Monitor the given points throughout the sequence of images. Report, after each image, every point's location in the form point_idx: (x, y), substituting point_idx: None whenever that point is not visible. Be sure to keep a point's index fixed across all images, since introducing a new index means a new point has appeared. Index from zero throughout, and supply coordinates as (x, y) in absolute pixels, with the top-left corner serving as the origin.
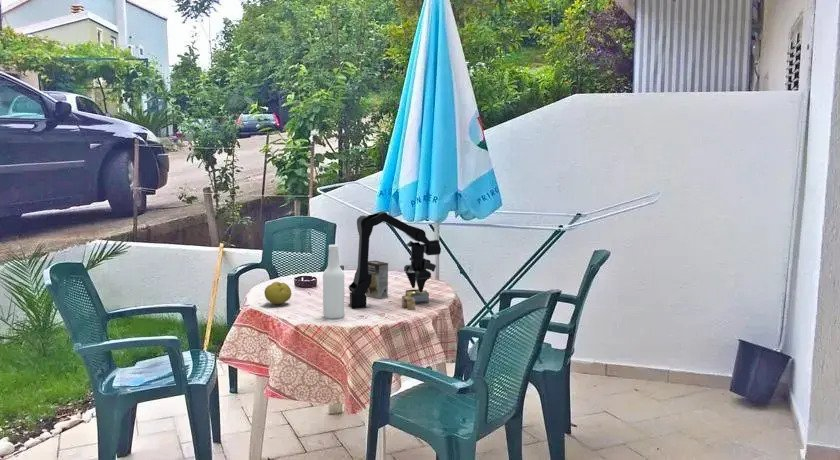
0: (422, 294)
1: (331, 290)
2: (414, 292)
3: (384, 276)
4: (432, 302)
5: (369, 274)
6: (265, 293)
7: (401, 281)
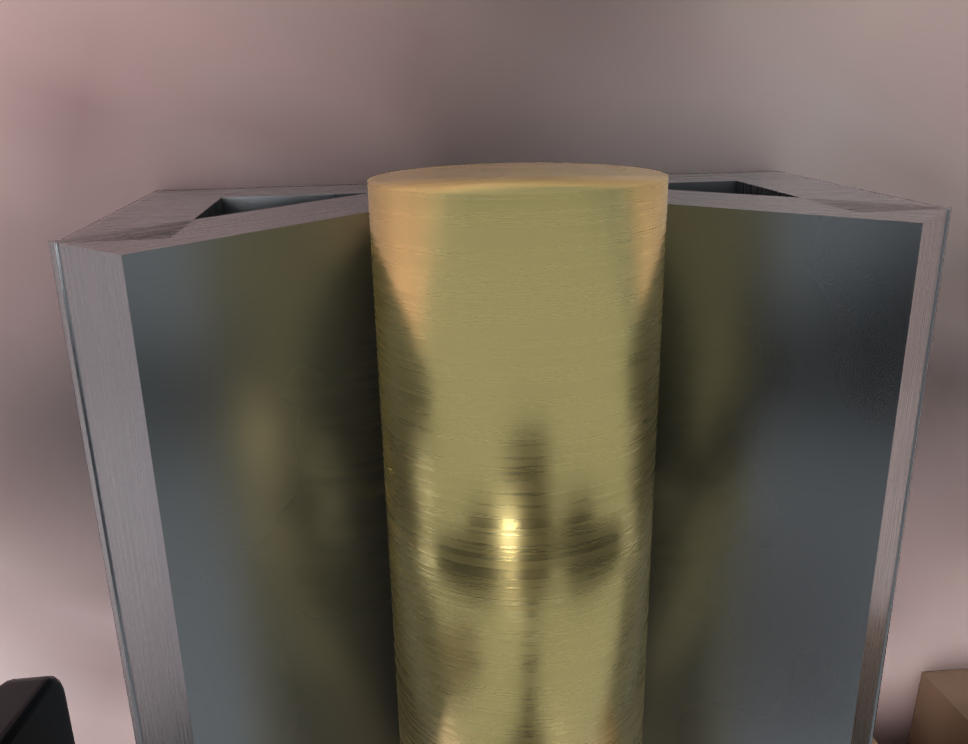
0: (906, 492)
1: None
2: (622, 740)
3: None
4: (749, 24)
5: None
6: None
7: None
